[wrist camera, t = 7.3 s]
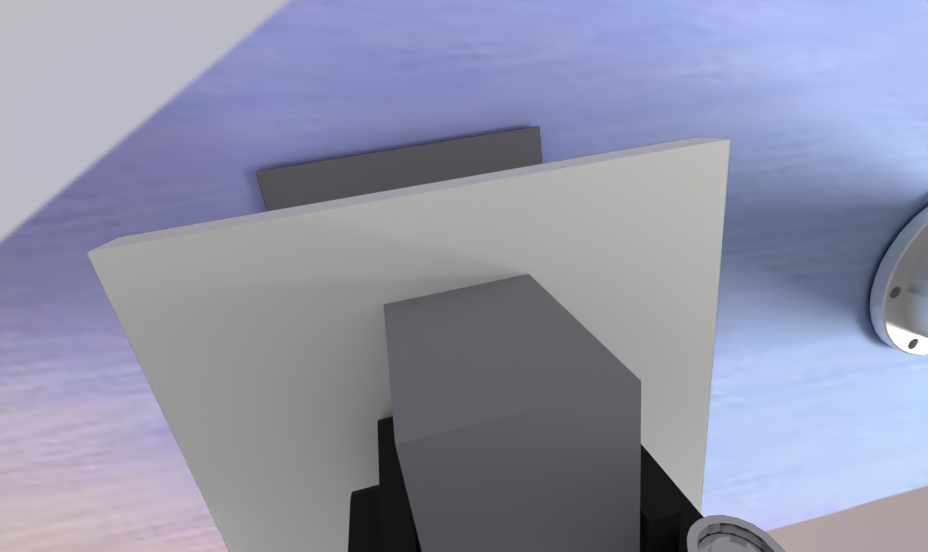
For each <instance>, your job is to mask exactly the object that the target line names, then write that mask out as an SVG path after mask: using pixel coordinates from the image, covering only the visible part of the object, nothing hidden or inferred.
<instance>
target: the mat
mask: <svg viewBox="0 0 928 552" xmlns="http://www.w3.org/2000/svg"><path fill="white" fill-rule="evenodd" d="M538 164H542V156H541V143H540V129H539V127H538V126H536V127H530V128H524V129H518V130H511V131H505V132H499V133H493V134H486V135H480V136H474V137H467V138H461V139H455V140H449V141H442V142H436V143H430V144H424V145H417V146H411V147H405V148H399V149H392V150H386V151H380V152H374V153H367V154H361V155H355V156H348V157H342V158H336V159H330V160H323V161H317V162H311V163H305V164H298V165H292V166H286V167H280V168H273V169H267V170H261V171H256V175H257V178H258V182H259V185H260V188H261V191H262V195H263V198H264V201H265V205H266V208H267V211H273V210H279V209H285V208H290V207H296V206H302V205H308V204H313V203H319V202H325V201H331V200H337V199H342V198H348V197H354V196H360V195H365V194H371V193H377V192H383V191H388V190H394V189H400V188H406V187H412V186H417V185H423V184H429V183H435V182H440V181H446V180H452V179H458V178H463V177H469V176H475V175H481V174H486V173H492V172H498V171H504V170H510V169H515V168H521V167H527V166H533V165H538Z"/></svg>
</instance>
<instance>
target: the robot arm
mask: <svg viewBox="0 0 928 552" xmlns="http://www.w3.org/2000/svg"><path fill="white" fill-rule="evenodd" d="M870 314H871V321H872V324H873V327H874V329H875V332H876V333H877V335H878V336H879V337H880V338H881V340H882V341H884V342H885V343H886V344H888V345H889V346H891V347H893V348H896V349H898V350H900V351H903V352H905V353H908V354H914V355H928V206H927V207H926V208H925V209H924V210H922V211H921V212H920V213H919V214H917V215H916V216H915V217H914V218H913V219H912V220H911V221H910V222H909V223H908V224H907V225H906V226H905V228H904V229H903V230H902V231H901V232H900V233H899V235H898V236H897V237H896V239H895V240H894V242H893V243H892V244H891V246H890V247H889V249H888V251H887V252H886V254H885V256H884V258H883V260H882V261H881V263H880V266H879V268H878V271H877V273H876V276H875V278H874V282H873V286H872V290H871V296H870ZM377 426H378V459H379V485H375V486H371V487H368V488H364V489H360V490H357V491H353V492H352V494H351V499H350V516H349V537H348V552H422V550H421V546H420V542H419V538H418V534H417V530H416V526H415V522H414V518H413V514H412V510H411V506H410V502H409V498H408V494H407V490H406V486H405V482H404V478H403V474H402V470H401V466H400V462H399V458H398V454H397V450H396V446H395V436H394V424H393V416H392V417H388V418H384V419H380V420H378V422H377ZM640 552H785V551H784V550H783V548H782V547H781V546H780V545H779V544H778V543H777V542H776V541H775V540H774V539H773V538H772V537H770V536H769V535H768V534H767V533H766V532H764V531H763V530H761V529H760V528H758V527H756V526H755V525H753V524H751V523H749V522H746V521H744V520H741V519H739V518H735V517H730V516H725V515H714V516H707V517H703V516H702V515H701V514H700V512H699V511H698V510H697V509H696V508H695V507H694V505H693V504H692V503H691V502H690V501H689V499H688V498H687V497H686V496H685V495H684V494H683V492H682V491H681V490H680V489H679V488H678V487H677V485H676V484H675V483H674V482H673V481H672V479H671V478H670V477H669V476H668V475H667V474H666V472H665V471H664V470H663V469H662V468H661V466H660V465H659V464H658V463H657V462H656V461H655V459H654V458H653V457H652V456H651V455H650V453H649V452H648V451H647V450H646V449H645V448H644V446H643V445H642V444H641V470H640Z"/></svg>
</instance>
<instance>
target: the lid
mask: <svg viewBox="0 0 928 552" xmlns="http://www.w3.org/2000/svg"><path fill="white" fill-rule="evenodd" d="M729 150H730V139H723V138H704V137H694V138H688V139H683V140H677V141H671V142H665V143H660V144H654V145H648V146H642V147H636V148H631V149H625V150H619V151H613V152H608V153H602V154H596V155H590V156H585V157H579V158H573V159H567V160H561V161H556V162H550V163H544V164H538V165H533V166H527V167H521V168H515V169H510V170H504V171H498V172H492V173H486V174H481V175H475V176H469V177H463V178H458V179H452V180H446V181H440V182H435V183H429V184H423V185H417V186H412V187H406V188H400V189H394V190H388V191H383V192H377V193H371V194H365V195H360V196H354V197H348V198H342V199H337V200H331V201H325V202H319V203H313V204H308V205H302V206H296V207H290V208H285V209H279V210H273V211H267V212H262V213H256V214H250V215H244V216H238V217H233V218H227V219H221V220H215V221H210V222H204V223H198V224H192V225H187V226H181V227H175V228H169V229H163V230H158V231H152V232H146V233H140V234H135V235H129V236H123V237H118V238H116V239H114V240H112V241H110V242H107V243H105V244H103V245H101V246H99V247H97V248H95V249H93V250H90V251H88V252H87V254H88V256H89V259H90V261H91V263H92V265H93V267H94V269H95V271H96V273H97V275H98V277H99V280H100V282H101V284H102V286H103V288H104V290H105V292H106V294H107V296H108V298H109V301H110V303H111V305H112V307H113V309H114V311H115V313H116V315H117V317H118V319H119V321H120V324H121V326H122V328H123V330H124V332H125V334H126V336H127V338H128V340H129V342H130V345H131V347H132V349H133V351H134V353H135V355H136V357H137V359H138V361H139V363H140V366H141V368H142V370H143V372H144V374H145V376H146V378H147V380H148V382H149V384H150V387H151V389H152V391H153V393H154V395H155V397H156V399H157V401H158V403H159V405H160V408H161V410H162V412H163V414H164V416H165V418H166V420H167V422H168V424H169V426H170V429H171V431H172V433H173V435H174V437H175V439H176V441H177V443H178V445H179V447H180V450H181V452H182V454H183V456H184V458H185V460H186V462H187V464H188V466H189V468H190V471H191V473H192V475H193V477H194V479H195V481H196V483H197V485H198V487H199V489H200V491H201V494H202V496H203V498H204V500H205V502H206V504H207V506H208V508H209V510H210V512H211V515H212V517H213V519H214V521H215V523H216V525H217V527H218V529H219V531H220V533H221V536H222V538H223V540H224V542H225V544H226V546H227V548H228V550H229V552H348V537H349V516H350V499H351V494H352V492H353V491H357V490H360V489H364V488H368V487H371V486H375V485H379V459H378V426H377V422H378V420H380V419H384V418H388V417H392V416H393V424H394V436H395V446H396V450H397V454H398V458H399V462H400V466H401V470H402V474H403V478H404V482H405V486H406V490H407V494H408V498H409V502H410V506H411V510H412V514H413V518H414V522H415V526H416V530H417V534H418V538H419V542H420V546H421V550H422V552H640V470H641V444H642V445H643V446H644V448H645V449H646V450H647V451H648V452H649V453H650V455H651V456H652V457H653V458H654V459H655V461H656V462H657V463H658V464H659V465H660V466H661V468H662V469H663V470H664V471H665V472H666V474H667V475H668V476H669V477H670V478H671V479H672V481H673V482H674V483H675V484H676V485H677V487H678V488H679V489H680V490H681V491H682V492H683V494H684V495H685V496H686V497H687V498H688V499H689V501H690V502H691V503H692V504H693V505H694V507H695V508H696V509H697V510H698V511H699V512H700V514H701V506H702V493H703V480H704V468H705V455H706V442H707V429H708V417H709V404H710V391H711V379H712V366H713V353H714V341H715V328H716V315H717V303H718V290H719V277H720V264H721V252H722V239H723V226H724V214H725V201H726V188H727V176H728V163H729Z"/></svg>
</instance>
